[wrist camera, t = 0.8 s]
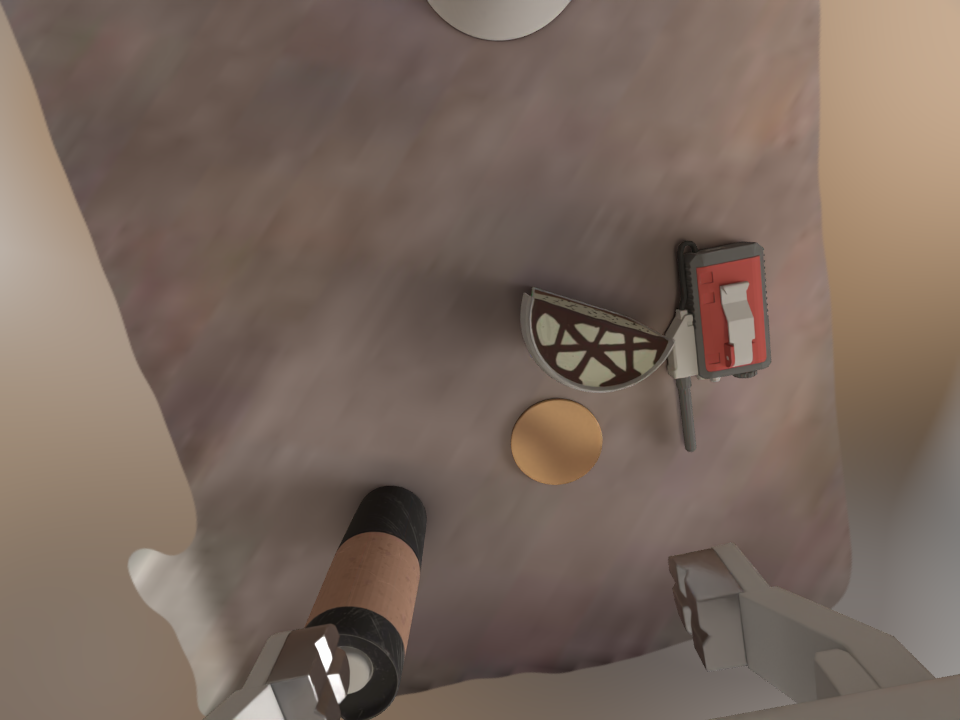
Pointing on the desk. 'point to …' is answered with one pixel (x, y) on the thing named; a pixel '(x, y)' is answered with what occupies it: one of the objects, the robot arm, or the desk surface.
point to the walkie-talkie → (718, 320)
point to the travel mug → (374, 596)
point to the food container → (589, 343)
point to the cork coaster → (556, 441)
